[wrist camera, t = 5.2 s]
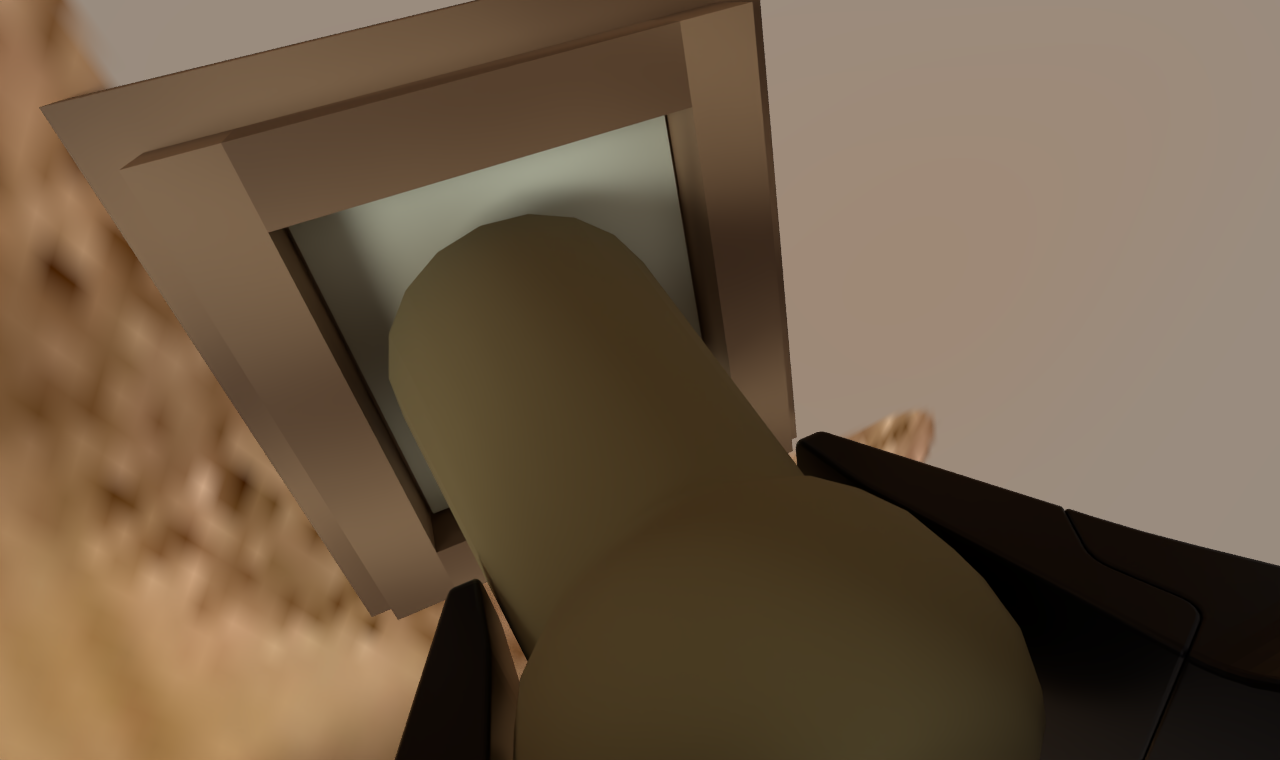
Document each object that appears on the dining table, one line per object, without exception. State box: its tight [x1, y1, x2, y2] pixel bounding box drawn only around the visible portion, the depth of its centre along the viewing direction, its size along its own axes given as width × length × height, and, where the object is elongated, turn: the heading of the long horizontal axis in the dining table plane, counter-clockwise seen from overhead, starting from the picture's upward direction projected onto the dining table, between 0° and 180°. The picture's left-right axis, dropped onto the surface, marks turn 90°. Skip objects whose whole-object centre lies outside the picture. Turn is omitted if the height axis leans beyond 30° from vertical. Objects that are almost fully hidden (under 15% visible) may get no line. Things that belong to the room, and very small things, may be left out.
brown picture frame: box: [39, 0, 797, 620], centre depth 15 cm, size 13×13×2 cm
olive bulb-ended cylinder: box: [389, 214, 1046, 760], centre depth 10 cm, size 6×6×11 cm
